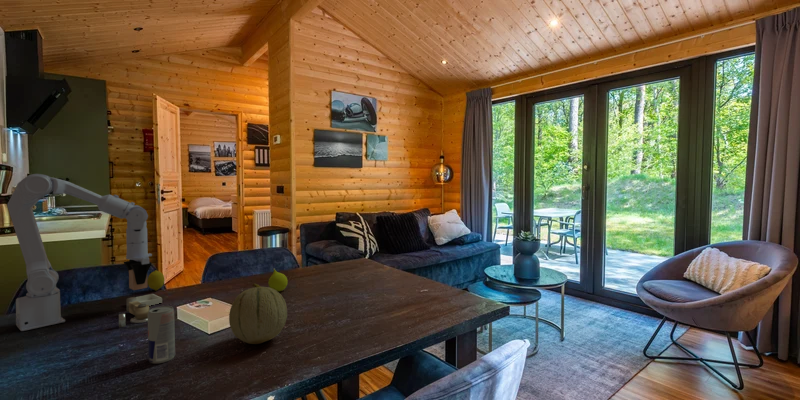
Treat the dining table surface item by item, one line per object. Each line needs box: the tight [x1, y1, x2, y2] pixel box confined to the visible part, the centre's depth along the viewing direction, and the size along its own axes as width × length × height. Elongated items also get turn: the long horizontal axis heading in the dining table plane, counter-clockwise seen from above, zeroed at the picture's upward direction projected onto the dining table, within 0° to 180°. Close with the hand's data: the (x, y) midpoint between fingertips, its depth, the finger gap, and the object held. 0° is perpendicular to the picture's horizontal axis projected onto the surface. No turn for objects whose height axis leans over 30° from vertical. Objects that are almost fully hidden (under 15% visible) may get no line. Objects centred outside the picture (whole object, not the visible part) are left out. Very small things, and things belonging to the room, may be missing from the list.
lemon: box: [147, 269, 165, 291], centre depth 146 cm, size 6×6×8 cm
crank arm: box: [125, 296, 150, 319], centre depth 118 cm, size 12×4×4 cm, turn 53°
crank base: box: [118, 312, 148, 329], centre depth 114 cm, size 10×6×4 cm, turn 143°
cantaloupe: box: [228, 283, 288, 345], centre depth 101 cm, size 15×15×15 cm
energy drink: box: [147, 305, 176, 364], centre depth 90 cm, size 5×5×12 cm
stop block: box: [128, 270, 149, 291], centre depth 126 cm, size 4×4×6 cm
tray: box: [136, 293, 163, 307], centre depth 130 cm, size 8×8×2 cm
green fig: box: [267, 267, 289, 293], centre depth 147 cm, size 7×7×10 cm
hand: (138, 282), depth 126 cm, fingers closed on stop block, 4 cm apart
